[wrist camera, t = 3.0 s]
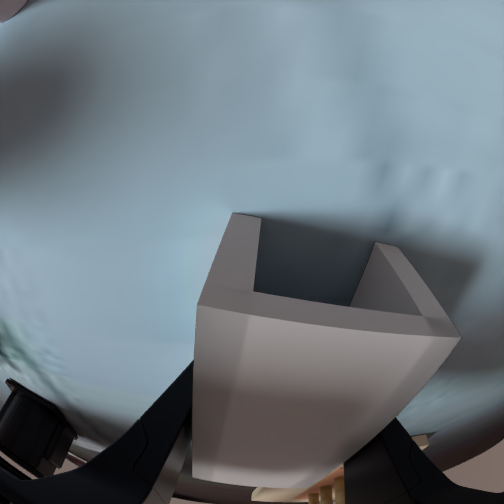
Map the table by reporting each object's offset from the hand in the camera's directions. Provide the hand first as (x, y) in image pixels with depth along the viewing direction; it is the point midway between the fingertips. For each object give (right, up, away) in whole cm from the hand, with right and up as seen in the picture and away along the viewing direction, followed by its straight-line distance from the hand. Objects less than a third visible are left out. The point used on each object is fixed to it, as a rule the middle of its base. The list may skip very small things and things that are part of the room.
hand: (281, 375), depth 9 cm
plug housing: (0, 0, +1) cm, 1 cm away
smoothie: (-10, +15, -6) cm, 19 cm away
